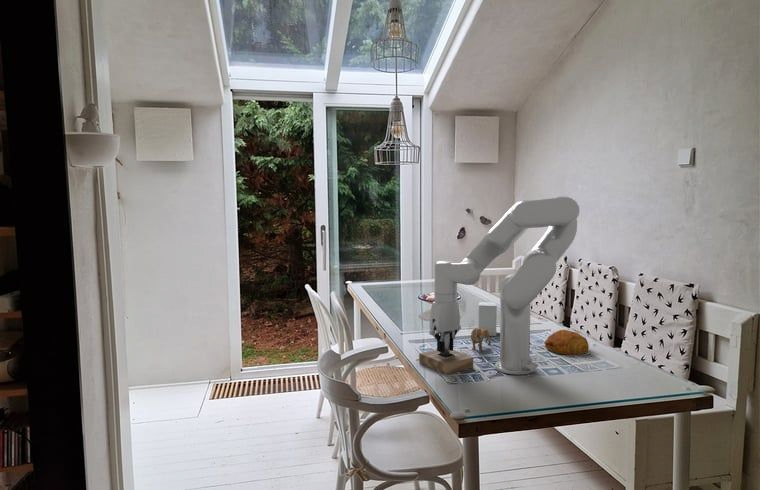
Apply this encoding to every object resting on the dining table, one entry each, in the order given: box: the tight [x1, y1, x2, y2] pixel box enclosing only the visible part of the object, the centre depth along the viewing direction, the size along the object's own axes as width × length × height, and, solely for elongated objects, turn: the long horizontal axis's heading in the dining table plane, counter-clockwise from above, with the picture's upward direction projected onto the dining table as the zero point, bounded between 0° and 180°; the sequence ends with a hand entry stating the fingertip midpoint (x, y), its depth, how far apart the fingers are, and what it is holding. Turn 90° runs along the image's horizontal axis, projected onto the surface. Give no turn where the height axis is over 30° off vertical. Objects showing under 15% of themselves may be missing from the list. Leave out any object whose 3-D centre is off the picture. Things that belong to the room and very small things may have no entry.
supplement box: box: [477, 301, 498, 337], centre depth 213 cm, size 7×7×13 cm
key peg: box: [440, 331, 451, 358], centre depth 174 cm, size 4×4×12 cm
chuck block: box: [418, 348, 474, 375], centre depth 175 cm, size 14×12×4 cm
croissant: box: [543, 329, 590, 356], centre depth 190 cm, size 14×16×8 cm
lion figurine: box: [470, 327, 491, 352], centre depth 193 cm, size 15×5×9 cm, turn 154°
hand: (445, 350), depth 174 cm, fingers closed on key peg, 3 cm apart
